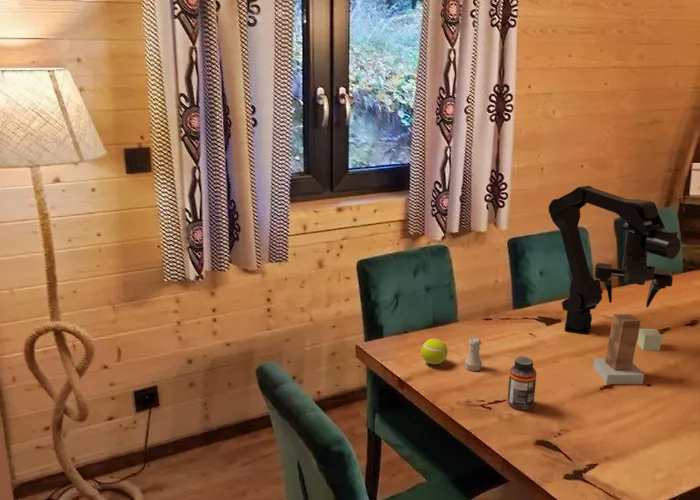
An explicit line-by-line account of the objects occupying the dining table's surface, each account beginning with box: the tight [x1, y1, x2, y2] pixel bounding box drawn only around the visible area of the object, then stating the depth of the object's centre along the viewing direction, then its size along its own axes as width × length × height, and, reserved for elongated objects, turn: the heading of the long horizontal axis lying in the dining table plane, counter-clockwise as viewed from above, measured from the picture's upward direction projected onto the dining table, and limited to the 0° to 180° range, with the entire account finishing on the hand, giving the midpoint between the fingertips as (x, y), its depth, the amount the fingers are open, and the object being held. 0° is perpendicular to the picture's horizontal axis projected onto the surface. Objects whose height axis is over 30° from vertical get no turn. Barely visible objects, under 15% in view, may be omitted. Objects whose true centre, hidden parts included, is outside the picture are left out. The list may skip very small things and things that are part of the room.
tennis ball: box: [421, 338, 448, 366], centre depth 176 cm, size 7×7×7 cm
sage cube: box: [636, 328, 663, 352], centre depth 187 cm, size 4×4×4 cm
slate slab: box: [592, 357, 645, 385], centre depth 171 cm, size 9×9×3 cm
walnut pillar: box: [605, 313, 641, 370], centre depth 169 cm, size 4×4×13 cm
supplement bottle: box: [507, 355, 537, 411], centre depth 155 cm, size 6×6×11 cm
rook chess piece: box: [464, 336, 483, 372], centre depth 173 cm, size 4×4×8 cm
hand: (628, 304), depth 183 cm, fingers open, 9 cm apart
